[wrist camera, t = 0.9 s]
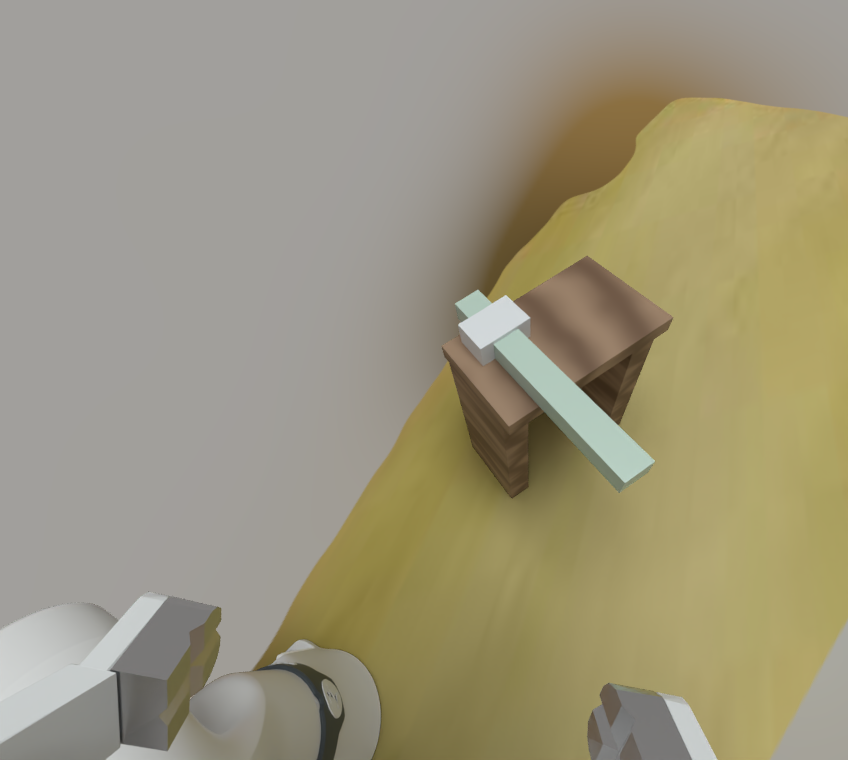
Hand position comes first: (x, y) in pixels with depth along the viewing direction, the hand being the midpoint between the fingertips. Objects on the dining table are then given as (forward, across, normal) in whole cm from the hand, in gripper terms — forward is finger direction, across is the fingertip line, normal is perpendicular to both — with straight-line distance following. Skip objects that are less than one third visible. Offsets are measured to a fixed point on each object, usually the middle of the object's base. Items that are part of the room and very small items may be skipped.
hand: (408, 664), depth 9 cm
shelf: (+54, +19, -16) cm, 60 cm away
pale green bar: (+33, +10, -3) cm, 35 cm away
